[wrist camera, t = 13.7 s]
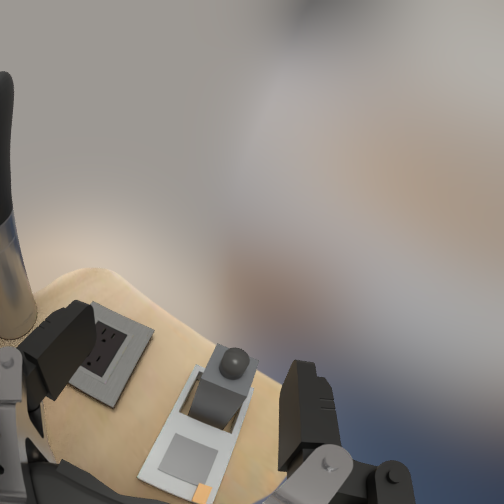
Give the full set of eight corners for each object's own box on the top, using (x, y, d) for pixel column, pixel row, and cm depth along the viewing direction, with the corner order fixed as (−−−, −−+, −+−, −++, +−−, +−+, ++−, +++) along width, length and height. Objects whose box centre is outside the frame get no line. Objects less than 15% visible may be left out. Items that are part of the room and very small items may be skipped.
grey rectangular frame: (138, 479, 20) (136, 476, 19) (193, 372, 35) (196, 362, 33) (207, 507, 20) (211, 507, 18) (248, 395, 34) (255, 386, 32)
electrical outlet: (115, 413, 26) (112, 406, 25) (48, 373, 26) (43, 364, 25) (153, 338, 37) (154, 328, 36) (94, 310, 37) (92, 299, 36)
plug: (187, 416, 29) (204, 367, 22) (200, 388, 33) (221, 331, 26) (222, 430, 29) (253, 387, 22) (232, 401, 33) (265, 349, 26)
